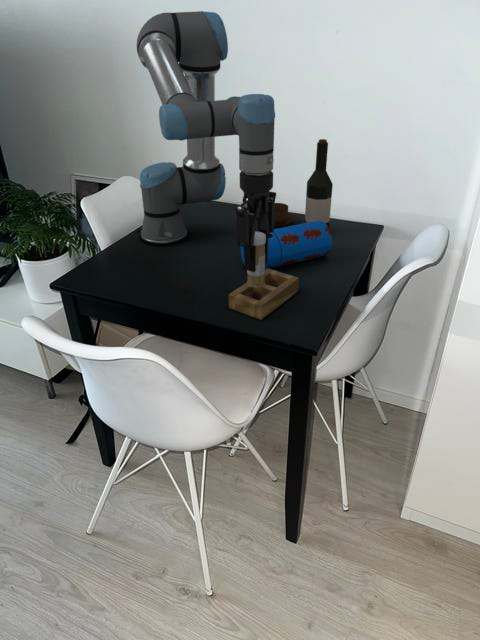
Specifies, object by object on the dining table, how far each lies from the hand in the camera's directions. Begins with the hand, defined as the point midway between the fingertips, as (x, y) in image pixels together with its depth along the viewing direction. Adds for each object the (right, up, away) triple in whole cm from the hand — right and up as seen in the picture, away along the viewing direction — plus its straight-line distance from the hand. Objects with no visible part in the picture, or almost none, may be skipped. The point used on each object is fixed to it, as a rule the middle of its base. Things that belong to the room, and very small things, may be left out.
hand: (256, 266), depth 125 cm
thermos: (+21, +12, +29) cm, 38 cm away
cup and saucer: (+9, +21, +54) cm, 58 cm away
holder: (+3, -8, +9) cm, 12 cm away
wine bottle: (+22, +16, +47) cm, 54 cm away
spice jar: (0, -5, +3) cm, 5 cm away
